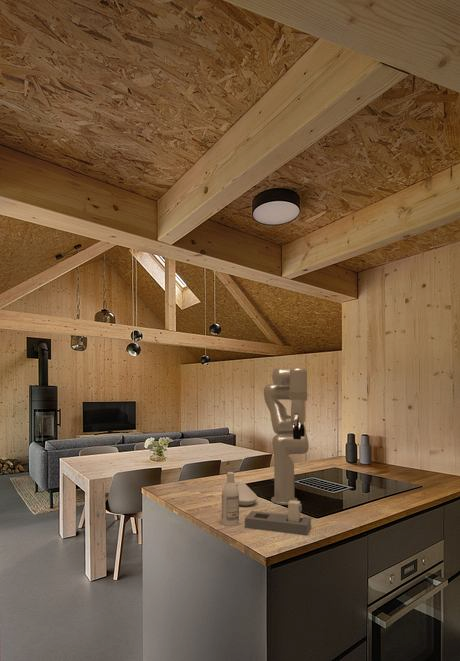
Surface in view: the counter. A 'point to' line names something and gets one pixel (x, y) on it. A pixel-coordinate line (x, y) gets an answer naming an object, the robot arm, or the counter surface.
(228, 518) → the bath foam
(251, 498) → the spoon rest
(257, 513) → the socket block
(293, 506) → the plug
